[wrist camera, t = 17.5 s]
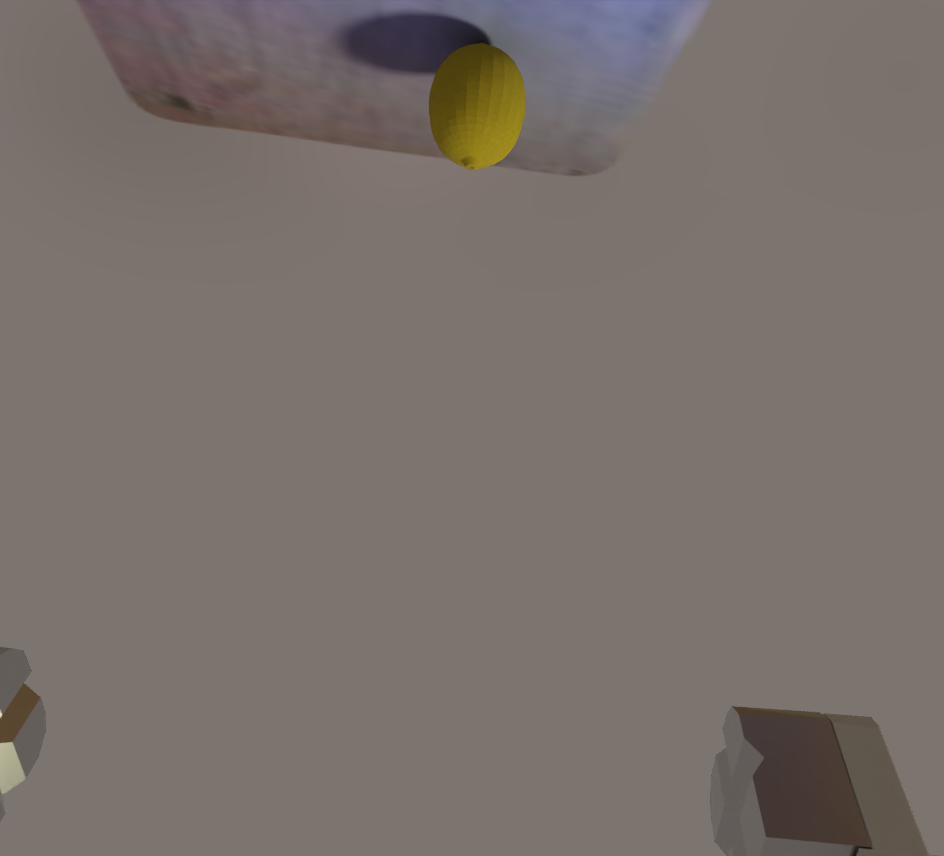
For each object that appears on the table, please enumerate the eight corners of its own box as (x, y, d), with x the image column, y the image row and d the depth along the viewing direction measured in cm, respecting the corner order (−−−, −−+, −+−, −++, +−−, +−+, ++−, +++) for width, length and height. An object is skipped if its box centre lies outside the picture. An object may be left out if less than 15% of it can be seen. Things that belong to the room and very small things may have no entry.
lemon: (496, 85, 55) (486, 201, 53) (418, 49, 52) (405, 171, 50) (549, 38, 50) (540, 164, 49) (467, -3, 48) (455, 129, 46)
